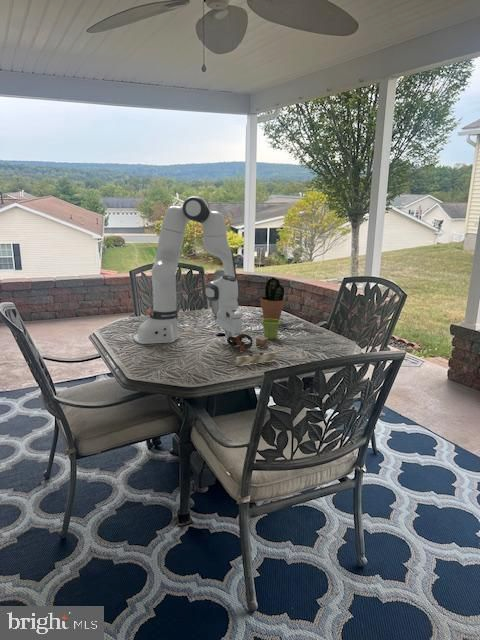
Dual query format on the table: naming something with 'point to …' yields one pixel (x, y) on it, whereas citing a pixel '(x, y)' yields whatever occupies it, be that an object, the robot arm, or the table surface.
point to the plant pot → (270, 328)
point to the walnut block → (262, 341)
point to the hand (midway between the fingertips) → (228, 338)
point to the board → (255, 358)
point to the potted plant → (272, 300)
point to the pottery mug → (240, 342)
